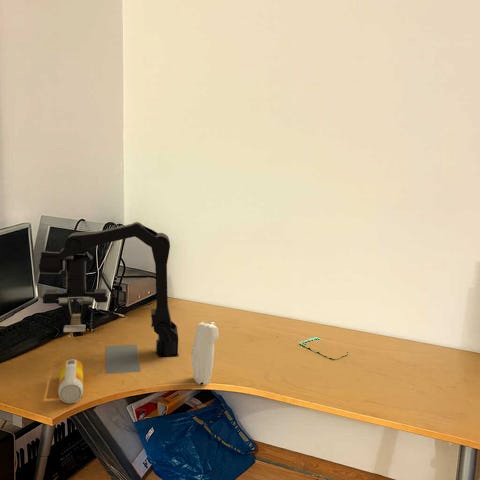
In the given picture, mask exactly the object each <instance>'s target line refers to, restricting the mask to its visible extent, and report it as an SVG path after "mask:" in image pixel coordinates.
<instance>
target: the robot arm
mask: <svg viewBox="0 0 480 480" xmlns="http://www.w3.org/2000/svg"><path fill="white" fill-rule="evenodd" d="M129 238H130V239H131V238H137V239H138V240H140V242H142V243H144V244H145V245H146V246H148V247H149V248H151V252H152V258H153V261H154V267H155V269H154V270H155V296H156V297H155V300H156V304H155V308H151V312H150V318H151V320H150V321H151V324H150V327H151V328H153V332H154V333H155V334H156V335H157V339H156V340H155V354H156V355H157V357H158V358H161V359H162V358H176V357H177V358H179V334H178V333H179V332H178V326H177V325H176V324H175V322H174V321H172V317H171V313H170V311H171V310H170V308H169V303H168V302H169V301H168V261H169V255H170V249H171V243H170V238H169V236H168V235H167V234H166V233H163V232H157V231H155V230H154V229H151V228H149V227H147V226H146V225H144V224H143V223H141V222H140V221H139V222H138V221H136V222H133V223H130V224H125V225H121V226H115V227H112V228H107V229H103V230H98V231H77V232H75V231H74V232H73V233H71V234H70V235H69V236H68V237H67V239H66V240H65V242H64V247H63V248H61V250H60V251H48V250H42V251H41V252H40V259H39V263H38V270H39V271H38V272H39V273H40V274H42V275H44V274H46V275H47V274H48V275H49V274H50V275H60V274H61V273H62V272H63V271H65V270H66V271H65V274H66V275H65V276H62V287H63V288H66V289H65V290H66V292H59V289H46V290H44V293H43V295H42V304H46V305H47V304H49V305H50V304H55V303H56V302H57V300H58V306H60V307H62V308H63V310H64V312H65V314H66V316H67V318H68V321H69V323H70V324H71V318H72V310H71V309H72V308H71V300H79V299H80V300H82V303H81V304H82V305H81V310H80V311H81V312H80V314H81V316H80V323H81V324H82V322H83V319H84V317H85V314H86V312H87V310H88V308H89V306H93V302H94V301H95V302H96V303H108V290H107V288H94V290H93V291H94V292H93V291H91V292H89V291H87V281H86V280H87V276H86V275H87V262H91V261H92V260H93V257H94V256H93V255H92V254H90V253H89V252H88V251H89V250H91V249H93V248H95V247H98V246H100V245H104V244H108V243H113V242H117V241H122V240H126V239H129ZM84 252H85V253H84ZM82 253H83V254H82ZM72 255H73V256H72Z"/></svg>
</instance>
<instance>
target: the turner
mask: <svg viewBox="0 0 480 480" xmlns="http://www.w3.org/2000/svg"><path fill="white" fill-rule="evenodd" d="M71 315H72V318H71V323H70V324H65V325H63V333H72V332H73V333H74V332H75V333H76V332H85V331H86V326H87V325H86V324H82V322H81V323H80V316H81V313H71Z"/></svg>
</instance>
